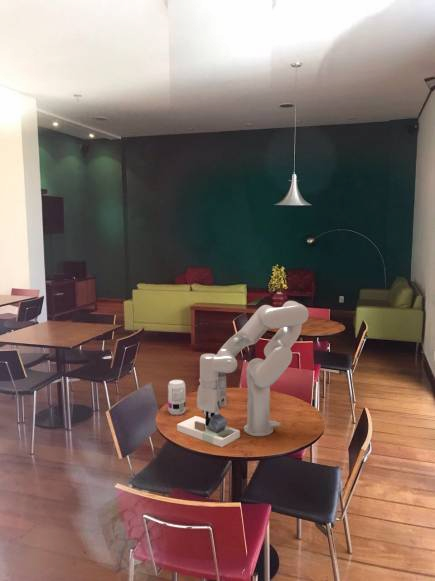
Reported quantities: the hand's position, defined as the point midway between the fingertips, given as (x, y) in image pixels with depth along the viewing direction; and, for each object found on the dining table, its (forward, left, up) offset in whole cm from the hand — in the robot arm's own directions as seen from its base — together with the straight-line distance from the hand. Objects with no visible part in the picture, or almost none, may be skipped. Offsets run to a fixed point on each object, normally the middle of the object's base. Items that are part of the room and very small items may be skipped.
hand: (209, 425), depth 199 cm
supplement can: (+14, -27, -4) cm, 30 cm away
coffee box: (-6, -36, -4) cm, 37 cm away
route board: (+1, -1, -4) cm, 4 cm away
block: (-3, +3, 0) cm, 4 cm away
